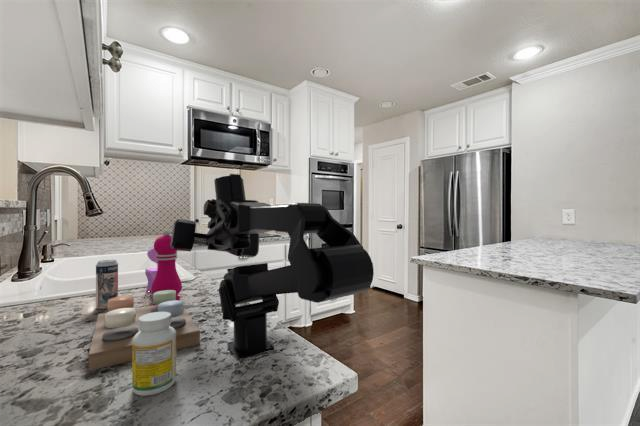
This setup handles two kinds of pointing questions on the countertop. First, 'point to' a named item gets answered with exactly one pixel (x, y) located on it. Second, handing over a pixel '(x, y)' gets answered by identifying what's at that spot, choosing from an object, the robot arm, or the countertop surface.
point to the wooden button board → (117, 341)
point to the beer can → (106, 282)
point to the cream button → (120, 317)
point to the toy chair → (151, 271)
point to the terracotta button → (120, 302)
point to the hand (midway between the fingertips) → (207, 247)
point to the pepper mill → (166, 266)
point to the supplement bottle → (154, 354)
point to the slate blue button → (172, 307)
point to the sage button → (164, 296)
